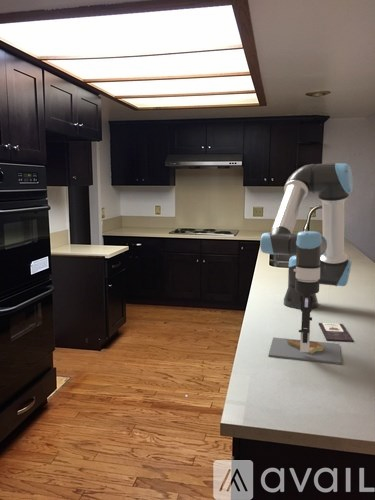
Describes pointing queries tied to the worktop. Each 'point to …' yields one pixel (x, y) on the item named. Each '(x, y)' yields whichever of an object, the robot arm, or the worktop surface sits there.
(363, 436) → the worktop surface
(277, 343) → the rubber mat
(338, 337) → the chocolate bar
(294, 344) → the shard
